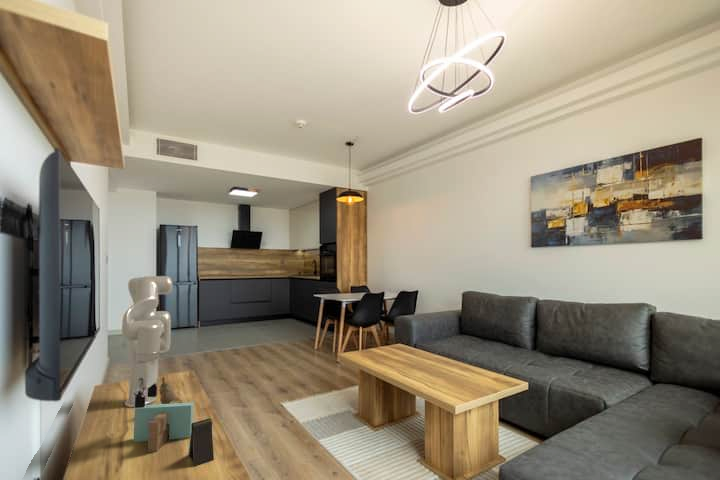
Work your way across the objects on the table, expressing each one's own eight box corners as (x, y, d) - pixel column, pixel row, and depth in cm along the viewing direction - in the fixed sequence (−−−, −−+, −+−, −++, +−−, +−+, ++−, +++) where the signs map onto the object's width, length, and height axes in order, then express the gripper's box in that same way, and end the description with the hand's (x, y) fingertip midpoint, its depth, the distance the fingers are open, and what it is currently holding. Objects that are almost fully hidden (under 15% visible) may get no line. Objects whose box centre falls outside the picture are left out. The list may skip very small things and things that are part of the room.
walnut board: (171, 425, 140) (171, 400, 141) (178, 425, 141) (179, 400, 142) (147, 452, 121) (149, 422, 121) (157, 451, 121) (158, 422, 122)
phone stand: (213, 460, 116) (214, 423, 117) (194, 466, 112) (195, 428, 113) (206, 448, 123) (207, 414, 124) (188, 454, 119) (189, 418, 120)
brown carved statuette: (158, 424, 147) (149, 384, 146) (157, 419, 152) (149, 380, 151) (188, 412, 154) (180, 373, 153) (187, 407, 158) (179, 370, 157)
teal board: (137, 437, 131) (138, 405, 132) (193, 434, 133) (193, 402, 134) (133, 441, 128) (134, 408, 129) (190, 437, 130) (191, 405, 131)
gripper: (148, 350, 140) (146, 393, 139) (125, 363, 123) (123, 412, 122) (167, 350, 141) (166, 392, 140) (147, 362, 124) (145, 411, 123)
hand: (146, 401), depth 131 cm, fingers open, 9 cm apart
